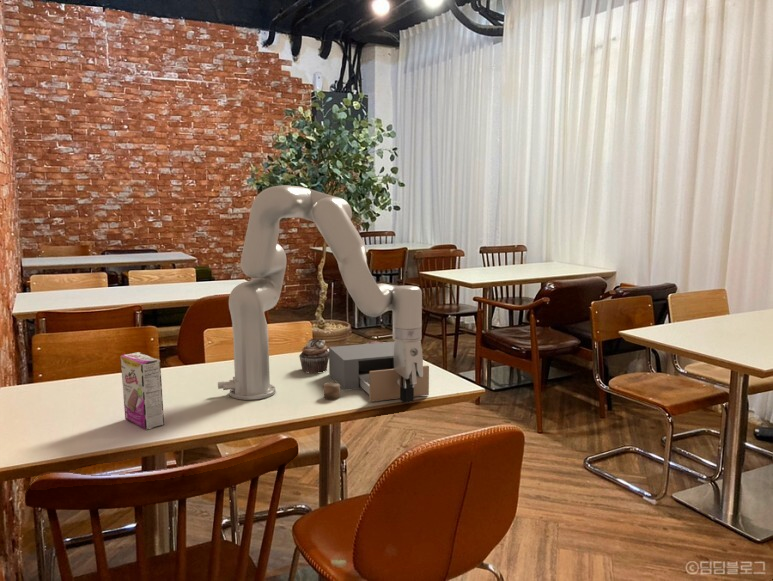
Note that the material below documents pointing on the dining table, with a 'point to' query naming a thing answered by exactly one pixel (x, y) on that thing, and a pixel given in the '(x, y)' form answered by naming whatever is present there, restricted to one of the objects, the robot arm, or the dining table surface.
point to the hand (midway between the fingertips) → (406, 401)
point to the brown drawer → (391, 384)
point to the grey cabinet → (359, 362)
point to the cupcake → (314, 356)
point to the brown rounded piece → (331, 391)
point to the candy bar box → (142, 390)
